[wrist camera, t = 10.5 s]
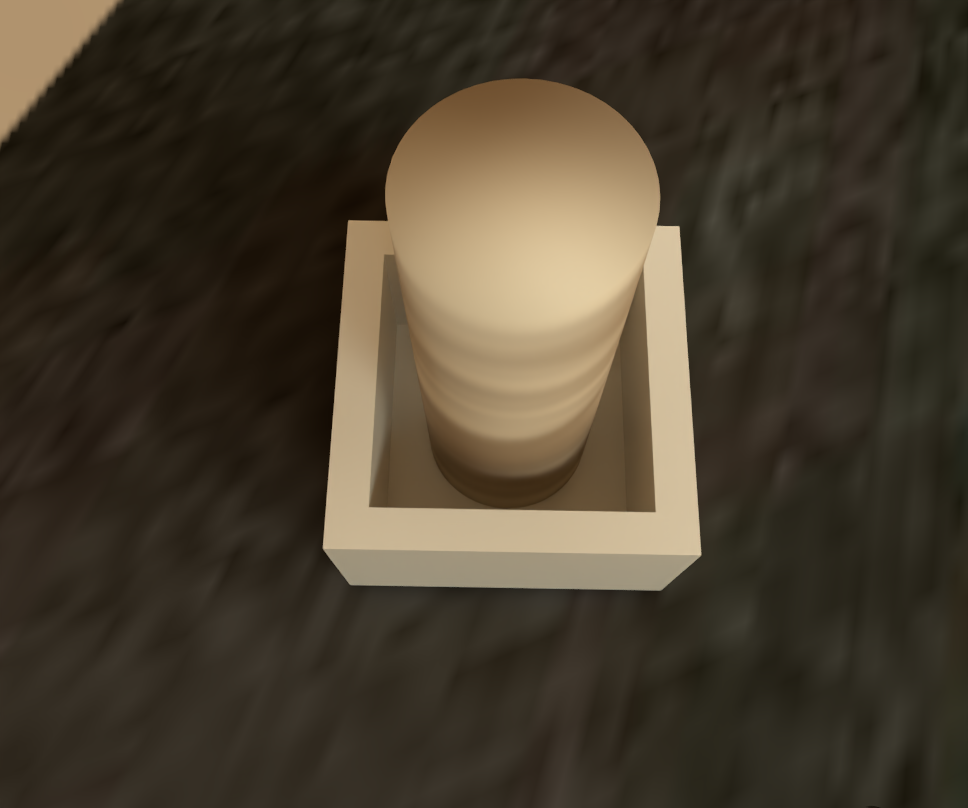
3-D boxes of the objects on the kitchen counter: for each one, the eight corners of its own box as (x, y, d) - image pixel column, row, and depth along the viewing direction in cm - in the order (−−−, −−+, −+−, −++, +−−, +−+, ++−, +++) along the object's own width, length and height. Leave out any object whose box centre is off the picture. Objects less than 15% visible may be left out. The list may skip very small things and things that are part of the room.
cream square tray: (660, 590, 21) (701, 555, 17) (350, 585, 21) (322, 548, 17) (646, 310, 23) (679, 226, 20) (368, 305, 23) (348, 220, 20)
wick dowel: (561, 527, 21) (622, 348, 11) (409, 482, 21) (345, 271, 12) (602, 384, 22) (687, 114, 13) (457, 344, 22) (435, 52, 13)
